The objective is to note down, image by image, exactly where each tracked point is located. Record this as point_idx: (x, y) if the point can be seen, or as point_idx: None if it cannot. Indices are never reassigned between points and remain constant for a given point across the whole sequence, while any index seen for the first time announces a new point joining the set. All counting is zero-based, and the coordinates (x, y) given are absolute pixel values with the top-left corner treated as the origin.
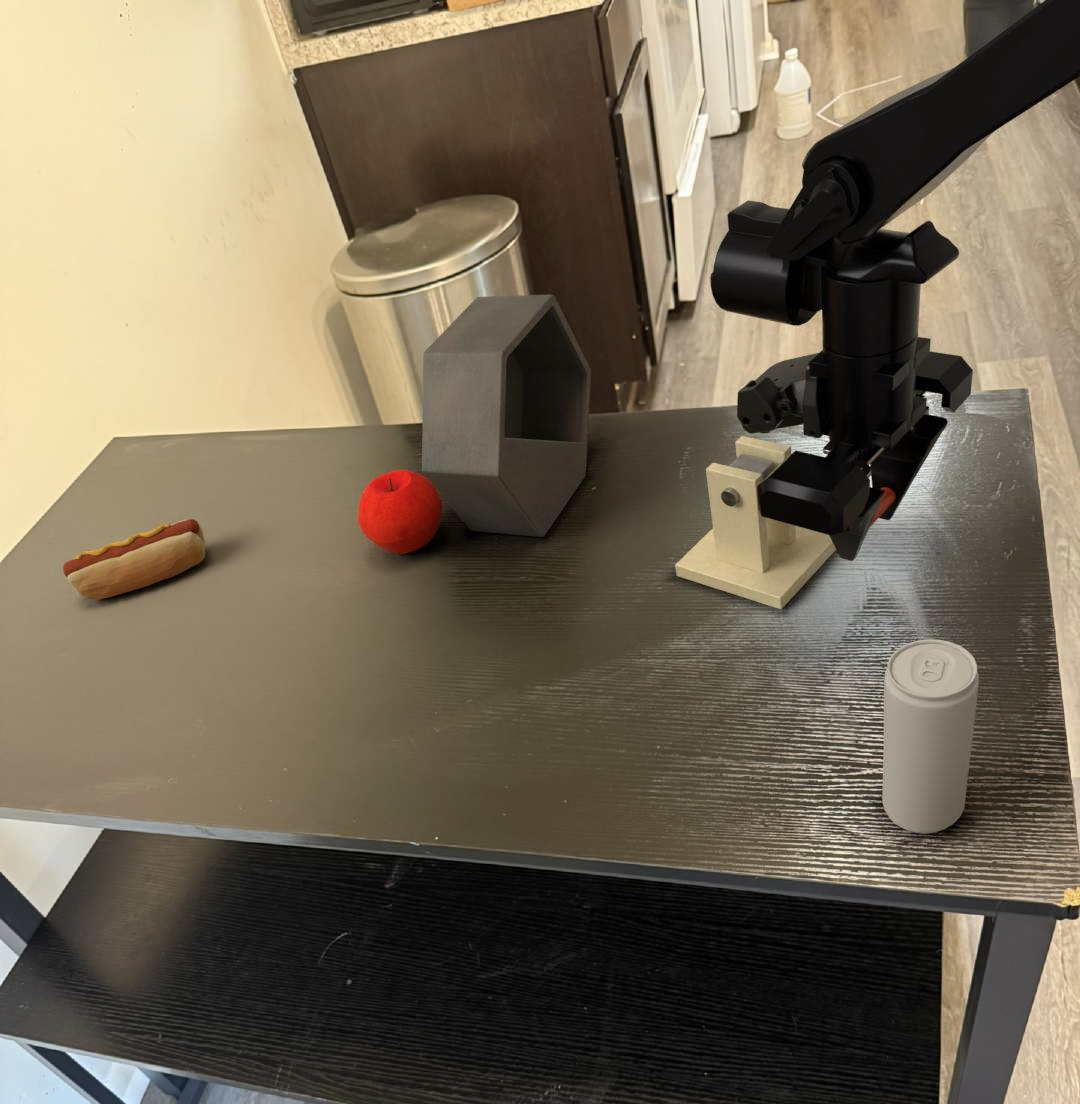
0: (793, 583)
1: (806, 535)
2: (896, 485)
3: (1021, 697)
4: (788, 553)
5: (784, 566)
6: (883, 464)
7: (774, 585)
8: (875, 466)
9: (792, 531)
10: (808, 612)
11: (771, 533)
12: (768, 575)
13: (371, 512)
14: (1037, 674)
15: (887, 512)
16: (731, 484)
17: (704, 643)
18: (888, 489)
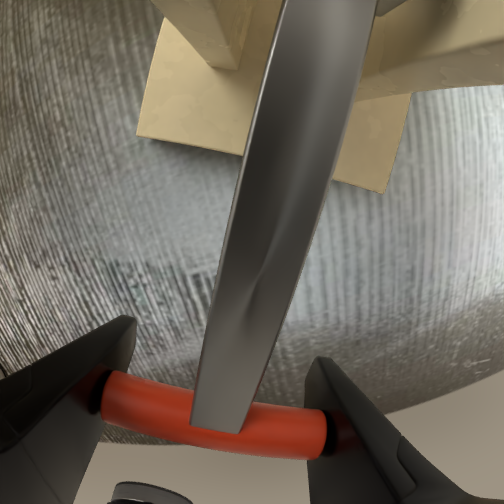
0: (187, 144)
1: (369, 123)
2: (319, 472)
3: (118, 430)
4: None
5: (245, 103)
6: (357, 500)
7: (170, 106)
8: (366, 477)
9: None
10: (154, 186)
11: None
12: (202, 80)
13: None
14: (153, 440)
15: (308, 393)
16: None
17: (44, 53)
18: (309, 457)
